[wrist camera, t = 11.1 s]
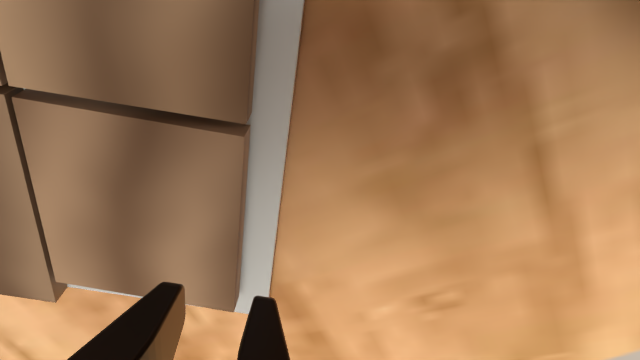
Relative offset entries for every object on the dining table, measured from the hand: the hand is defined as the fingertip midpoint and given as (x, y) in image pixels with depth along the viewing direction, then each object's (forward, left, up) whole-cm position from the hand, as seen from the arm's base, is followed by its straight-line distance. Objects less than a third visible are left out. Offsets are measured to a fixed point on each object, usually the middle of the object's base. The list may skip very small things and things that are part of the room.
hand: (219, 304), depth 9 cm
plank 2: (+7, +8, -12) cm, 16 cm away
